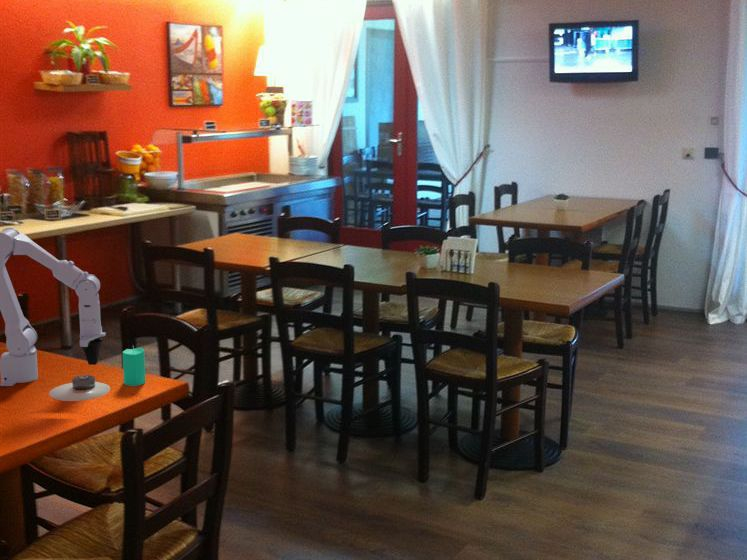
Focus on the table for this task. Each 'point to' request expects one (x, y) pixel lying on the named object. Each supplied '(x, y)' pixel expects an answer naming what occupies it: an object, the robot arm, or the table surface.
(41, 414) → the table surface
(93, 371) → the table surface
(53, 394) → the cream flat disc
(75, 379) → the cover
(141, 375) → the candle
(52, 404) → the table surface
